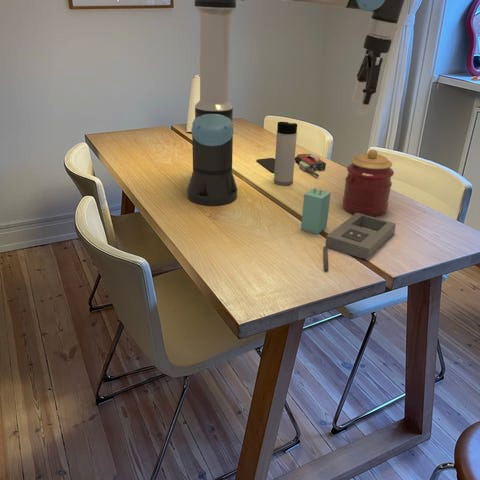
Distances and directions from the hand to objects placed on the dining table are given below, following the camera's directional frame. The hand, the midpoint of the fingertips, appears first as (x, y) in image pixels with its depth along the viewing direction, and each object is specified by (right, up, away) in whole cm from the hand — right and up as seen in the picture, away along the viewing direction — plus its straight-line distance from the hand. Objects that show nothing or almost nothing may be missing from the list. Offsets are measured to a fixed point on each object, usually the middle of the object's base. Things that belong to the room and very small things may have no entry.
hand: (358, 108), depth 153 cm
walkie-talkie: (-11, -16, +21) cm, 29 cm away
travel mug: (-23, -22, +8) cm, 33 cm away
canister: (-1, -32, -10) cm, 34 cm away
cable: (-17, -46, -38) cm, 62 cm away
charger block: (-17, -38, -23) cm, 48 cm away
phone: (-25, -15, +23) cm, 37 cm away
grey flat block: (-6, -41, -28) cm, 50 cm away
